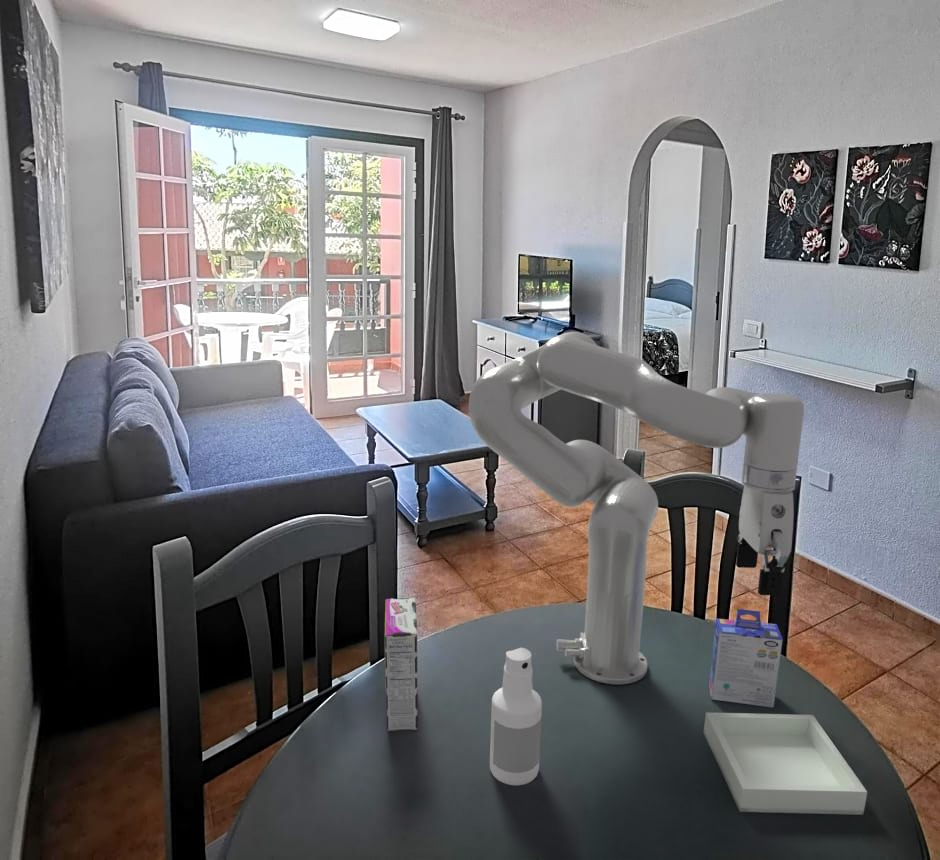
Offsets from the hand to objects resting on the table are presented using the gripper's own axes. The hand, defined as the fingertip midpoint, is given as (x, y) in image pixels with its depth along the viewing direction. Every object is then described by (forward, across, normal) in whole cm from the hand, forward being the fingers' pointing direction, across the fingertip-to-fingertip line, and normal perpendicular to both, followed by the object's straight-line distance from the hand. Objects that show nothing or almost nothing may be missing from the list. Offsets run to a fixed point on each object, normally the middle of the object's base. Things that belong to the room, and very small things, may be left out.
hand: (756, 580), depth 117 cm
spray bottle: (+20, -19, +38) cm, 47 cm away
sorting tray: (+21, -18, +1) cm, 27 cm away
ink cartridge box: (+21, 0, 0) cm, 21 cm away
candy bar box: (+20, -6, +55) cm, 59 cm away
